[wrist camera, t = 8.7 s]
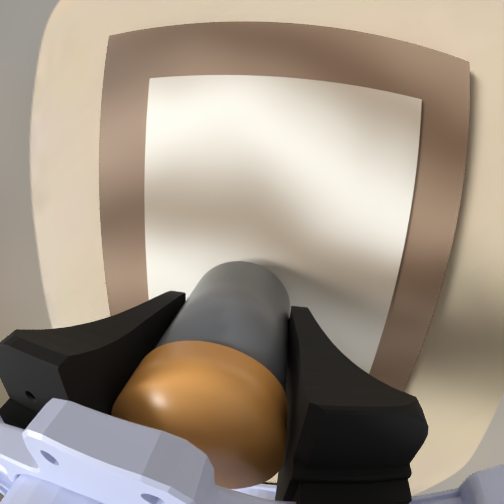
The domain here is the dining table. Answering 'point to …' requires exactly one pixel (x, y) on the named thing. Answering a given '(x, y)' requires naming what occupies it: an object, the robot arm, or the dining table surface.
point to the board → (287, 173)
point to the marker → (221, 375)
